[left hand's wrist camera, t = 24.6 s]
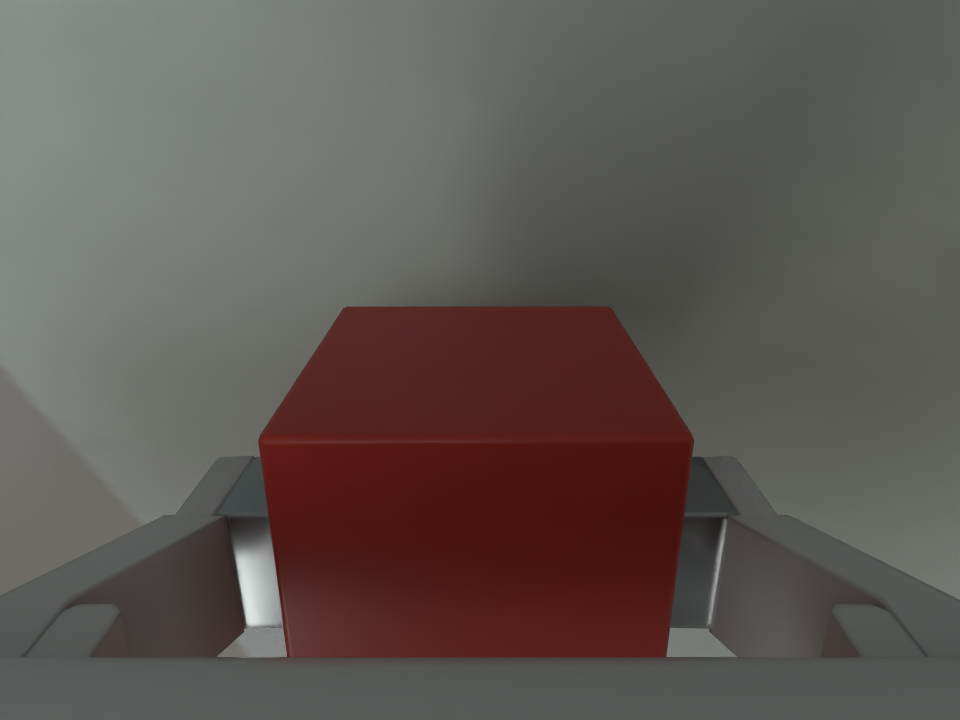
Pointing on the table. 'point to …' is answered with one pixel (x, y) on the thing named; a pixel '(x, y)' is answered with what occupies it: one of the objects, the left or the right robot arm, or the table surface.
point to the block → (476, 488)
